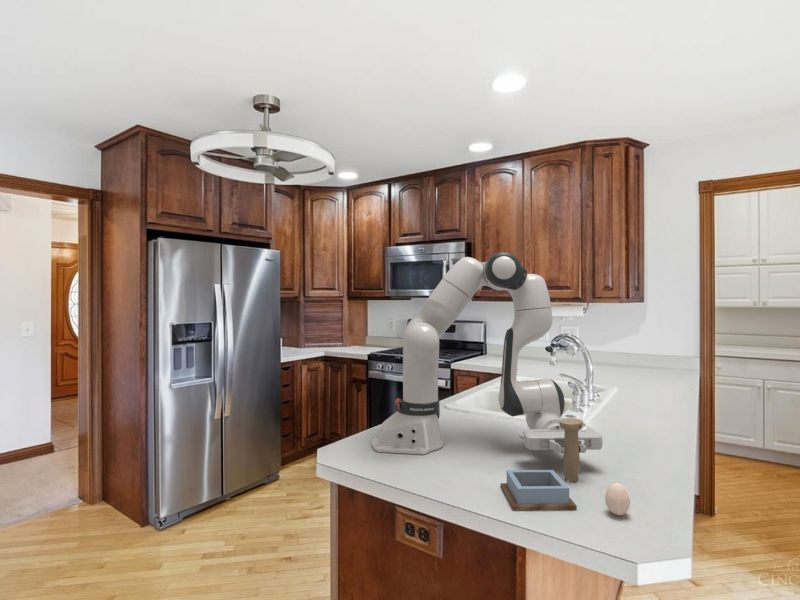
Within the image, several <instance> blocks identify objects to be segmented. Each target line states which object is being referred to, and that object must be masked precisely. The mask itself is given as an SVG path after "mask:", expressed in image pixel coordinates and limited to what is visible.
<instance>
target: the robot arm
mask: <svg viewBox="0 0 800 600" xmlns="http://www.w3.org/2000/svg"><path fill="white" fill-rule="evenodd" d="M436 285H437V286H436V287H435V288H434V289H433V291H432V292H431V293H430V295H429V296H428V298H427V299H426V300H425V302H424V303H423V304H422V305H421V307H420V308H419V309H418V310H417V311H416V313H415V314H414V315H413V317H412V318H411V320H410V321H409V322H408V323H407V325H406V326H405V327H404V329H403V332H402V398H399V397H398V398H396V399H395V405H396V412H394V413H393V414H391V415H390V416H389V417H388V418H387V419H385V420H384V421H383V422H382V423H381V426H380V429H379V432H378V435H376V436H375V437H374V438H373V439H372V442H371V443H372V444H371V446H372V447H371V448H372V449H373V450H374V451H375V452H379V453H388V454H389V453H393V454H408V455H426V454H428V453H430V452H433V451H437V450H439V449H441V448H442V447H443V446H444V440H443V438H442V433H441V427H440V416H441V403H440V400H439V361H440V338H441V337H442V336H443V335H444V334H445V332H446V331H447V330H448V329H449V328H450V327H451V325H453V323H454V322H456V320H457V319H458V317H459V316H460V315H461V314H462V312H463V310H464V309H465V308H466V307H467V306H468V304H469V302H470V301H471V300H472V299H473V297H474V295H475V294H476V293H477V292H478V290H480V289H481V288H484V289H488V290H491V291H495V292H504V291H505V292H508V293H509V294H510V296H511V299H512V302H513V312H514V313H513V314H514V319H513V322H512V324H511V327H509V328H508V329H507V330H506V332H505V334H504V335H505V336H504V339H503V350H502V363H501V378H500V386H499V391H498V392H499V393H498V403H499V407H500V409H501V410H502V411H503V412H504V413H505V414H507V415H508V416H510V417H517V416H523V415H525V422H526V425H527V429H525V430H524V431H523V432H520V433H518V437H519V438H520V439H522V440H523V444H524V446H525V448H526V450H529V451H555V452H557V453H560V454H563V453H565V446H564V434H565V433H564V429H563V428H561V427H560V420H562V419H565V418H564V417H562V416H563V413H564V412H565V406H566V405H565V402H566V401H565V395H564V392H563V390H562V388H561V387H560V386H559V384H558V383H557V382H555V381H554V380H553V379H552V378H545V379H543V378H542V379H533V380H521V381H518V380H517V372H518V360H519V359H518V358H519V353H520V351H521V350H522V349H523V348H524V347H526V346H527V345H529V344H531V343H533V342H534V341H537V340H539V339H540V338H543V337H544V336H545V335H546V334H548V332H550V330H551V328H552V325H553V312H552V304H551V303H552V302H551V299H550V293H549V290H548V287H547V283H546V280H545V279H544V277H542V276H541V275H539V274H536V273H528V270H526V268H525V267H524V265H523V264H522V263H521V261H520V260H519V258H518V257H516V256H515V255H514V254H513V253H510V252H507V251H498V252H496V253H494V254H492V255H491V256H489V258H488V259H487V260H486V261H483V262H481V261H479V260H477V259H476V258H474V257H470V256H465V257H464V256H463V257H462V258H461V257H460V259H459V260H457V262H456V263H454V265H452V267H451V268H450V269H449V270H448V271H447V273H446V274H445V275H444V276H442V279H441V280H440V281H439V282H438V284H436ZM578 440H579V454H581V453H584V454H585V453H587V451H588V450H591V451H592V450H597V451H600V450H602V449H603V444H604V443H603V435H602V434H600V433H599V431H596V430H595V429H593V428H592V427H590V426H586V422H584V421H583V427H582V428H581V429H580V430H579V431H578Z"/></svg>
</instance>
